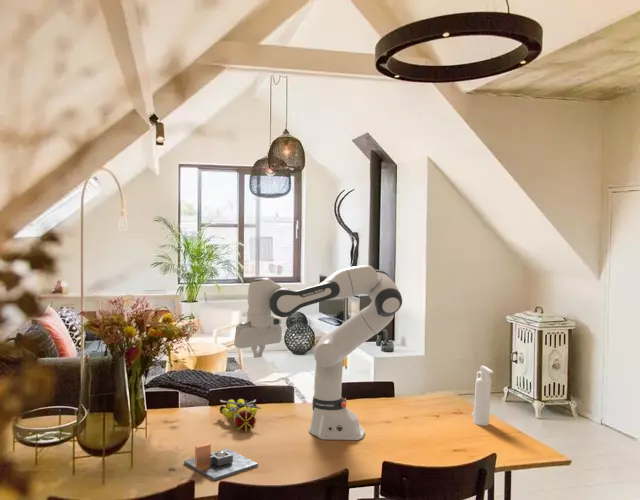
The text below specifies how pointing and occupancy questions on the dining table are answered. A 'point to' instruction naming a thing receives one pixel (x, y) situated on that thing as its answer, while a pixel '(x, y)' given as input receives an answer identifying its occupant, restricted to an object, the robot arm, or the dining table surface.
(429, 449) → the dining table surface
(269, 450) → the dining table surface
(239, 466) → the mount plate
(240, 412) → the toy
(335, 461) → the dining table surface
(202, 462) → the copper and grey fixture
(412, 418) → the dining table surface
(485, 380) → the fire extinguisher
